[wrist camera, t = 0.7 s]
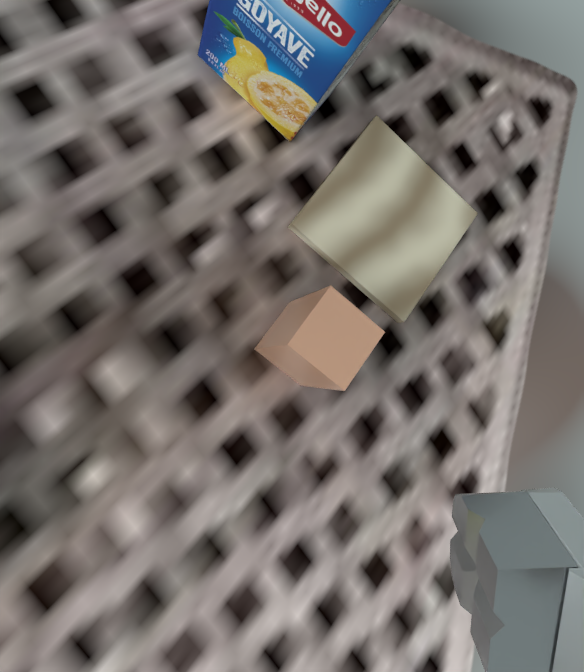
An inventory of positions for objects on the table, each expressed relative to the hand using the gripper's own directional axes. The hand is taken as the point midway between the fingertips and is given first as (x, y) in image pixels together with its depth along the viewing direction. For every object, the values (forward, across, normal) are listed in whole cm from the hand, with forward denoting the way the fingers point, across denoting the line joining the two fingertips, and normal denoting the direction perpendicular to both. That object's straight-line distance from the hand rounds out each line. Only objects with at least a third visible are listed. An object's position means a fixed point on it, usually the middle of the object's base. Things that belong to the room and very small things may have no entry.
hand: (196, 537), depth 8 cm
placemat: (+44, -10, +1) cm, 45 cm away
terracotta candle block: (+37, -1, +11) cm, 38 cm away
